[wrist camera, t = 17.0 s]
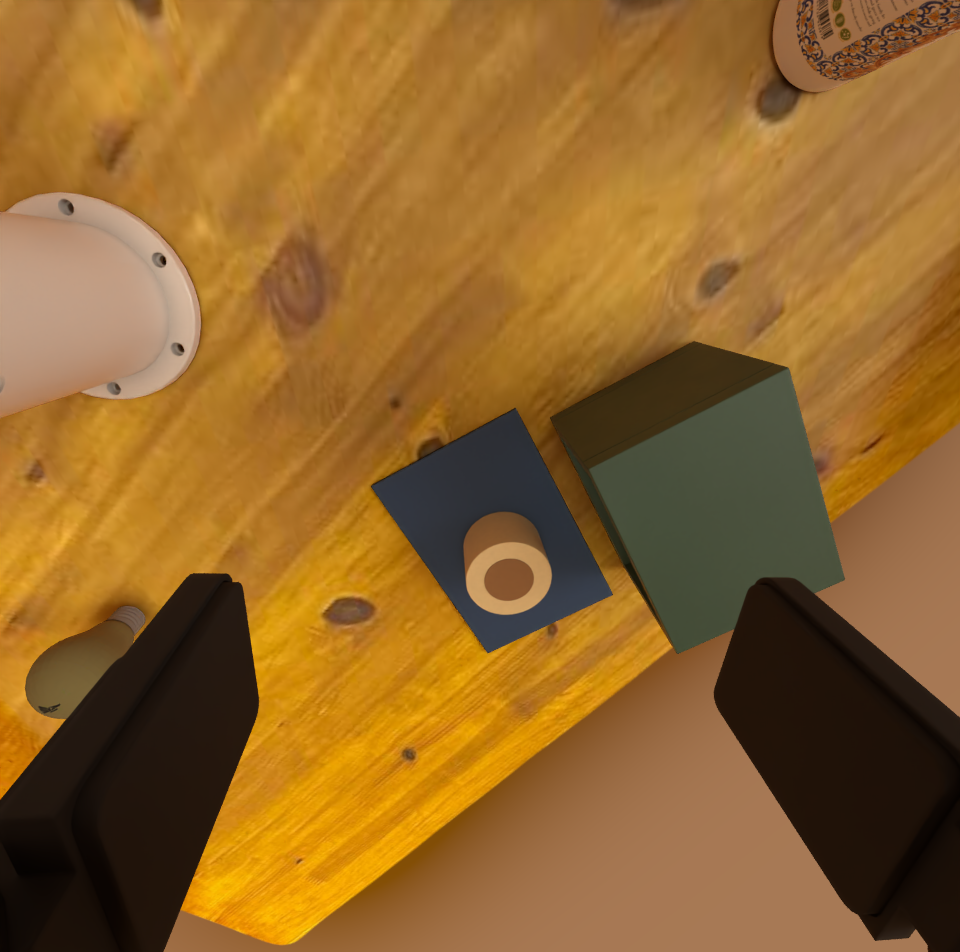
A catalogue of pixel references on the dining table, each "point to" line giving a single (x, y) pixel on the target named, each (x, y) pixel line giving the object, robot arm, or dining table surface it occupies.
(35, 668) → the light bulb
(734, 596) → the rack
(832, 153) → the dining table surface
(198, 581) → the robot arm
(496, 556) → the tape
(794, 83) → the bath foam
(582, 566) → the mat
